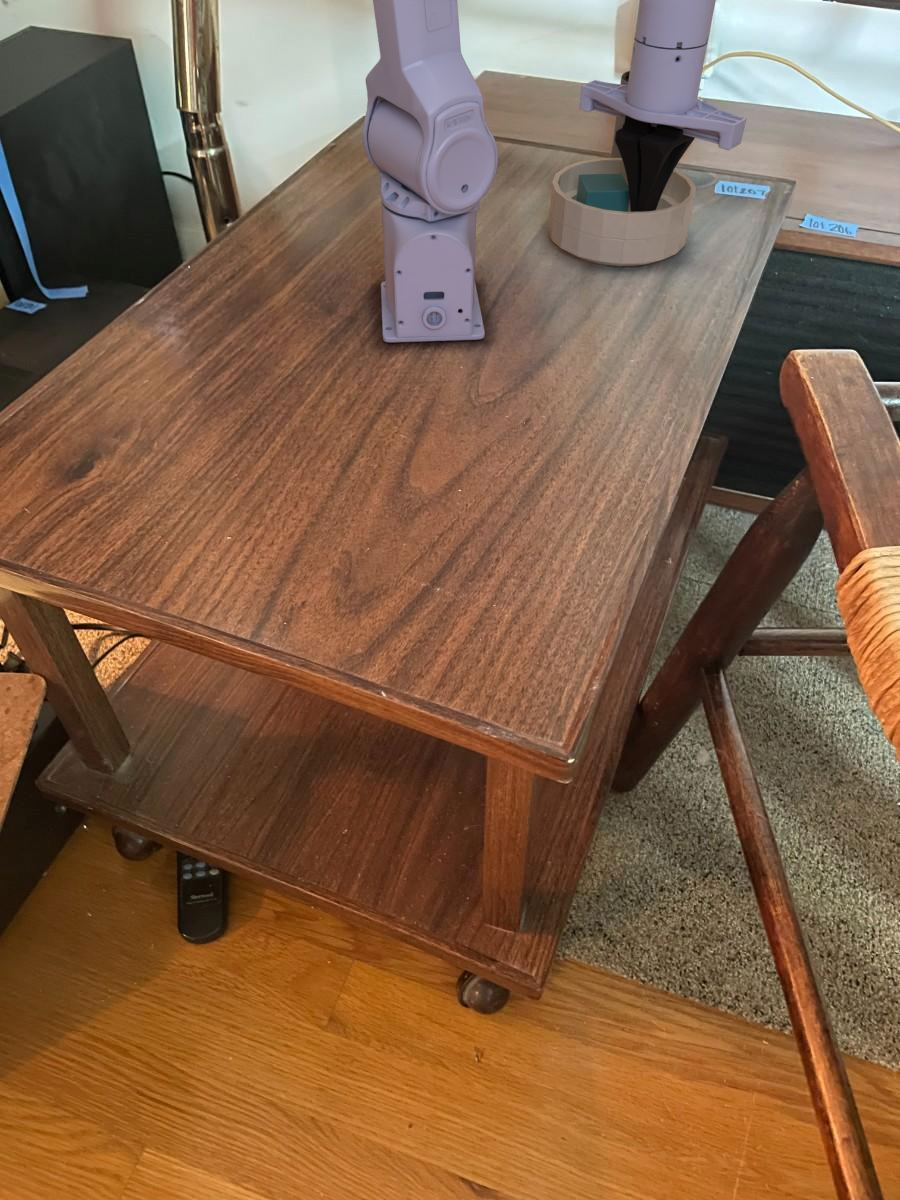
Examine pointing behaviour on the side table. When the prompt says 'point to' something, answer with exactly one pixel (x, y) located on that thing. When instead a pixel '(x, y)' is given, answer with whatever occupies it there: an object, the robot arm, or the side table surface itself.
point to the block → (604, 191)
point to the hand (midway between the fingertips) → (642, 214)
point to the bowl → (618, 219)
